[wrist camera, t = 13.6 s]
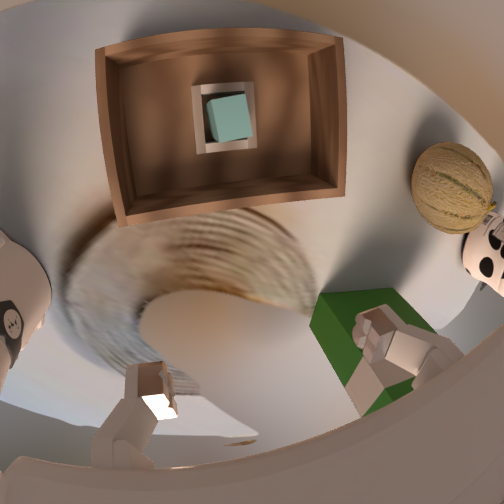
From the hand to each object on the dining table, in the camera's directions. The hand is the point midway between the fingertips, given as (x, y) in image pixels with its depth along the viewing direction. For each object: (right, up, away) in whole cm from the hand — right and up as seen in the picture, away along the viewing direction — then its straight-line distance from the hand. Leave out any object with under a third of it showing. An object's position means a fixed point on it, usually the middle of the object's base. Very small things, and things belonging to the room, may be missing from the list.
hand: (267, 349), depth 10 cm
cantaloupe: (+29, +17, +29) cm, 45 cm away
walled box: (-4, +20, +19) cm, 28 cm away
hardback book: (+19, -7, +39) cm, 44 cm away
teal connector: (-4, +19, +18) cm, 27 cm away
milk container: (+56, +7, +42) cm, 70 cm away
